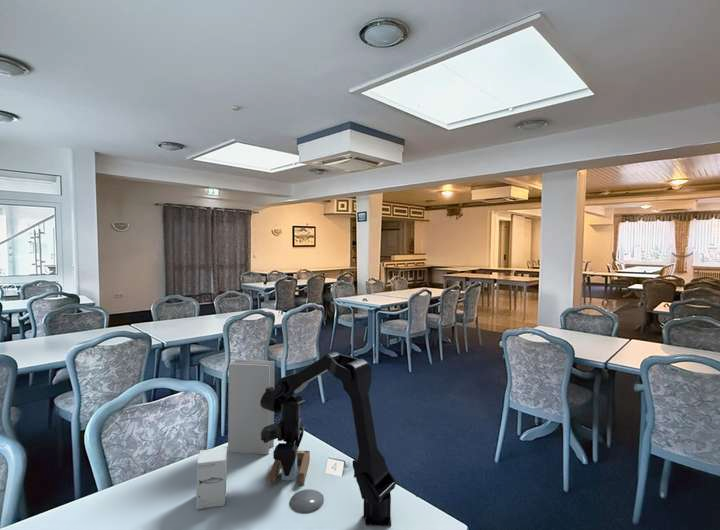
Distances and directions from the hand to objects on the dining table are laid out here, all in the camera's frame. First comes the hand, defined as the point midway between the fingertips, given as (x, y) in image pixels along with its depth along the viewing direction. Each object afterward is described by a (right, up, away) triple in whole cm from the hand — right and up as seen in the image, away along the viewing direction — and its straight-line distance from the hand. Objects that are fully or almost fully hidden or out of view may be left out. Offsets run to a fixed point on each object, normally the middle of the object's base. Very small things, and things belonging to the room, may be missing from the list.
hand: (289, 467), depth 118 cm
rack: (0, -3, +2) cm, 3 cm away
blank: (0, -3, 0) cm, 3 cm away
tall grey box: (-16, -2, +16) cm, 23 cm away
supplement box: (-19, -3, -12) cm, 23 cm away
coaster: (+7, -3, -12) cm, 14 cm away
